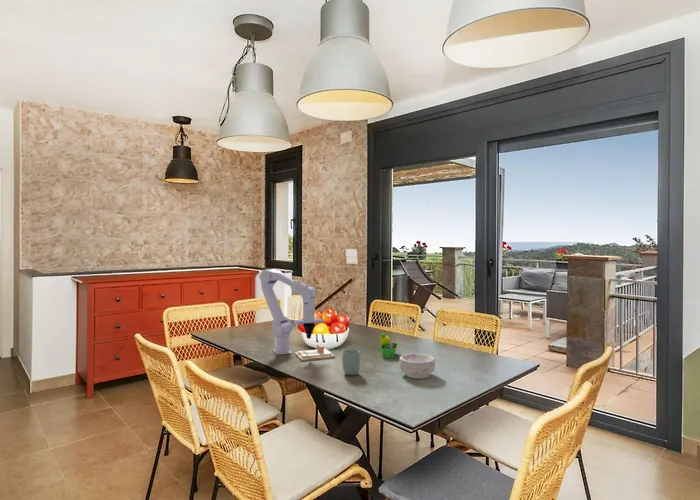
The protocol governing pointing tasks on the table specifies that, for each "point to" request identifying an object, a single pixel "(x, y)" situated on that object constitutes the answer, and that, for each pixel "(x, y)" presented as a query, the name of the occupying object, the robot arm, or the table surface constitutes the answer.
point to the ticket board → (311, 355)
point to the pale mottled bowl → (417, 365)
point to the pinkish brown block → (322, 350)
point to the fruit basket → (387, 346)
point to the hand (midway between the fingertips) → (308, 338)
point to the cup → (351, 361)
